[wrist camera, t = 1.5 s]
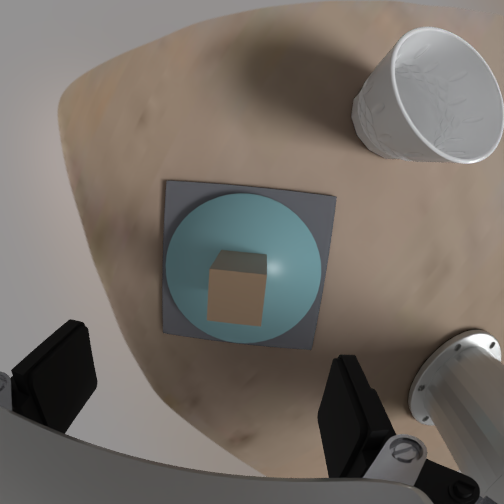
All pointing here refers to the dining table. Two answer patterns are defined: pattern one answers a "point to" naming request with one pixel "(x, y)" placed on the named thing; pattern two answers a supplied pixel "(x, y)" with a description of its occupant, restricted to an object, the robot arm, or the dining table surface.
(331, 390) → the robot arm
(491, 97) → the white cup
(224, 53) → the dining table surface
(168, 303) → the mat
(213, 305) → the lid
